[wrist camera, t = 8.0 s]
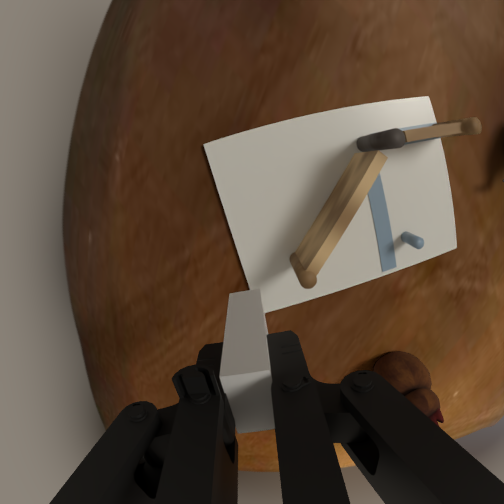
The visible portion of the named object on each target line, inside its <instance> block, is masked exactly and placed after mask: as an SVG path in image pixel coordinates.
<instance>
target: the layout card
mask: <svg viewBox="0 0 504 504" xmlns="http://www.w3.org/2000/svg"><path fill="white" fill-rule="evenodd" d="M433 124H436V119H435V116H434V112H433V109H432V105H431V102H430V99H429V96H426V97H415V98H406V99H398V100H390V101H382V102H376V103H369V104H363V105H357V106H351V107H346V108H340V109H335V110H330V111H325V112H320V113H315V114H311V115H306V116H302V117H298V118H293V119H289V120H285V121H281V122H277V123H274V124H270V125H266V126H262V127H259V128H255V129H252V130H248V131H245V132H241V133H238V134H234V135H231V136H228V137H225V138H222V139H218V140H215V141H212V142H209V143H206V144H203V145H204V148H205V151H206V154H207V157H208V161H209V164H210V167H211V170H212V173H213V177H214V180H215V183H216V186H217V189H218V192H219V195H220V199H221V202H222V205H223V208H224V211H225V214H226V217H227V220H228V224H229V227H230V230H231V233H232V236H233V239H234V242H235V245H236V248H237V251H238V254H239V257H240V261H241V264H242V267H243V270H244V273H245V276H246V279H247V282H248V285H249V288H250V290H254V289H260V292H261V297H262V303H263V308H264V313H267V312H270V311H274V310H277V309H281V308H284V307H288V306H291V305H294V304H298V303H301V302H304V301H308V300H311V299H314V298H317V297H321V296H324V295H327V294H330V293H333V292H336V291H339V290H343V289H346V288H349V287H352V286H355V285H358V284H361V283H364V282H367V281H369V280H372V279H375V278H378V277H381V276H384V275H387V274H390V273H392V272H395V271H398V270H401V269H403V268H406V267H409V266H411V265H414V264H417V263H419V262H422V261H425V260H427V259H430V258H433V257H435V256H438V255H440V254H443V253H445V252H448V251H450V250H453V249H455V248H457V242H456V230H455V219H454V211H453V203H452V196H451V189H450V183H449V177H448V171H447V166H446V161H445V156H444V152H443V147H442V143H441V139H440V138H441V137H439V138H436V137H433V138H427V139H422V140H416V141H411V142H405V144H404V146H403V147H401V148H396V149H387V150H379V151H380V152H382V153H383V154H384V155H385V156H387V157H388V158H387V160H386V162H385V164H384V166H383V167H382V169H381V171H380V173H379V174H378V176H377V178H376V180H375V181H374V183H373V185H372V187H371V188H370V190H369V192H368V194H367V195H366V197H365V199H364V200H363V202H362V204H361V206H360V207H359V209H358V211H357V212H356V214H355V216H354V217H353V219H352V220H351V222H350V224H349V225H348V227H347V229H346V230H345V232H344V234H343V235H342V237H341V238H340V240H339V242H338V243H337V245H336V246H335V248H334V249H333V251H332V253H331V254H330V256H329V257H328V259H327V260H326V262H325V264H324V265H323V267H322V268H321V270H320V271H319V273H318V274H317V276H316V277H317V283H316V285H315V286H314V287H313V288H311V289H305V288H303V287H302V286H301V285H300V283H299V280H298V278H297V276H296V274H295V272H294V270H293V267H292V265H291V263H290V261H289V258H290V255H291V254H292V253H294V252H295V251H296V250H297V248H298V246H299V245H300V243H301V242H302V240H303V238H304V237H305V235H306V234H307V232H308V230H309V229H310V227H311V225H312V224H313V222H314V221H315V219H316V217H317V216H318V214H319V212H320V211H321V209H322V207H323V206H324V204H325V203H326V201H327V199H328V198H329V196H330V194H331V193H332V191H333V189H334V187H335V186H336V184H337V182H338V181H339V179H340V177H341V176H342V174H343V172H344V171H345V169H346V167H347V165H348V164H349V162H350V160H351V159H352V157H353V155H354V153H360V152H362V151H360V150H359V149H358V148H357V144H356V143H357V140H358V138H359V137H362V136H366V135H369V134H373V133H377V132H381V131H385V130H389V129H393V128H398V129H400V130H401V131H404V130H410V129H416V128H422V127H429V126H432V125H433Z"/></svg>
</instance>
